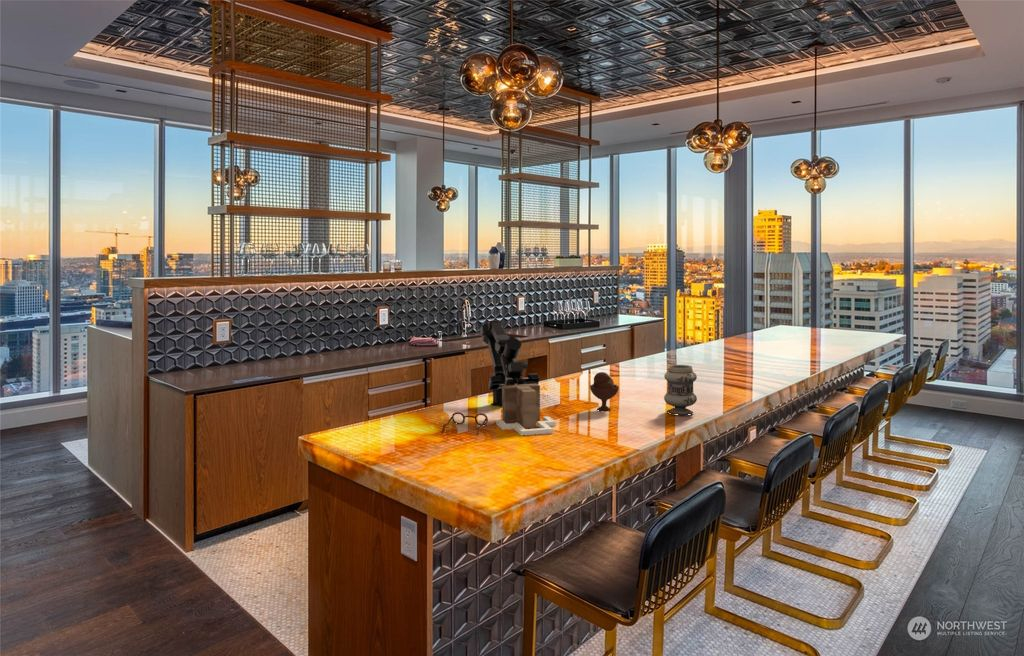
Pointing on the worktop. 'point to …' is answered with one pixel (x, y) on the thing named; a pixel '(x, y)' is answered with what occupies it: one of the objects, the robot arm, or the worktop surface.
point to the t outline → (522, 431)
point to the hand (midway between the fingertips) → (518, 400)
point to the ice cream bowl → (603, 389)
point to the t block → (521, 404)
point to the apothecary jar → (680, 389)
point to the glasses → (464, 420)
